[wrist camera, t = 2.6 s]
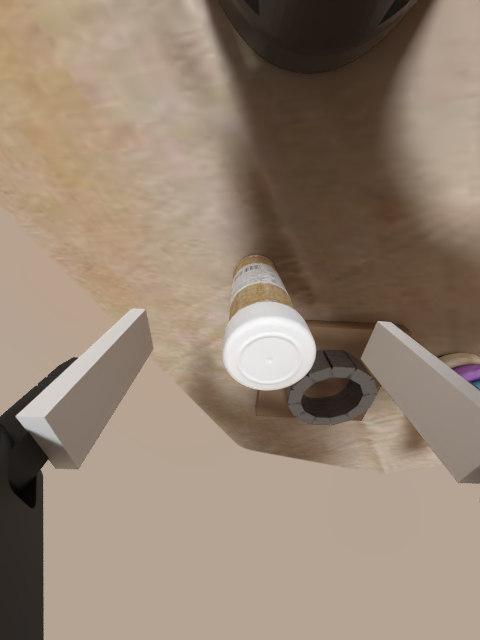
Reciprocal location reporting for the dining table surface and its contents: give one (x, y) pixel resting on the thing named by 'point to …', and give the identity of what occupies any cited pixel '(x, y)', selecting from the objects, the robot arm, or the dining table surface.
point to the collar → (335, 406)
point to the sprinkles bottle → (265, 330)
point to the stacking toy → (464, 366)
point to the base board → (325, 337)
